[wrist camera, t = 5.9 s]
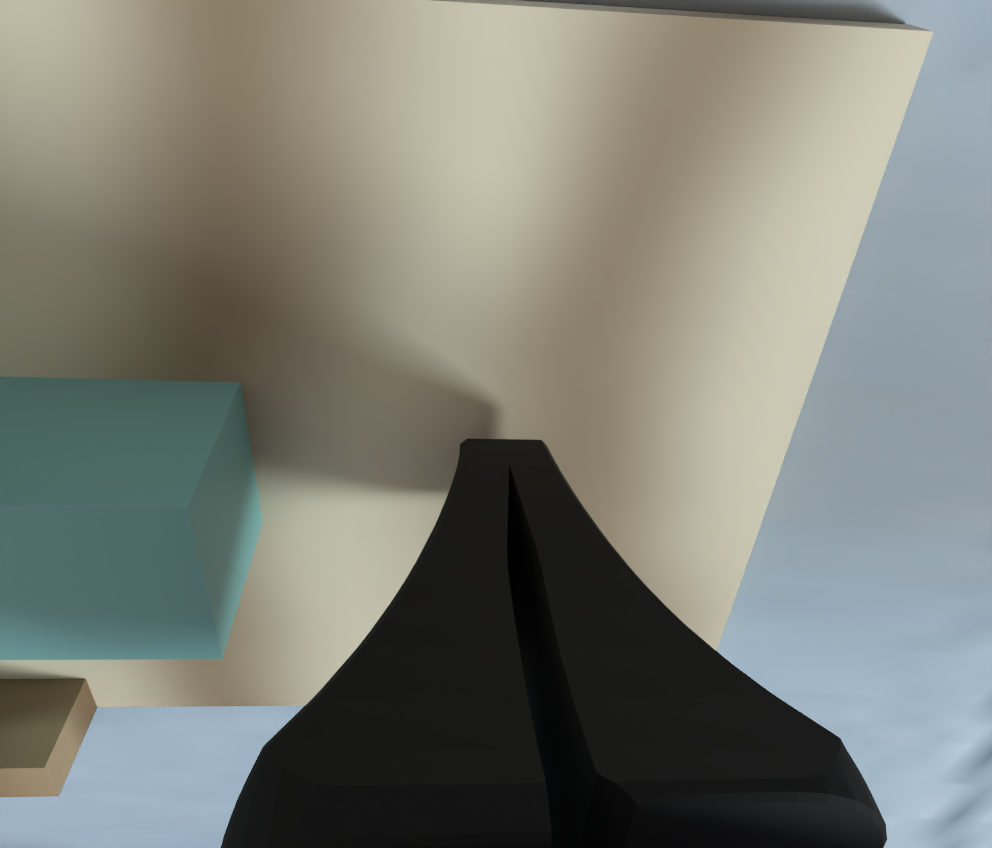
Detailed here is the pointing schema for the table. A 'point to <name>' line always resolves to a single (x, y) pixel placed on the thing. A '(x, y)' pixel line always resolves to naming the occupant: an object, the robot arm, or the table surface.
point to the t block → (123, 517)
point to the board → (432, 280)
